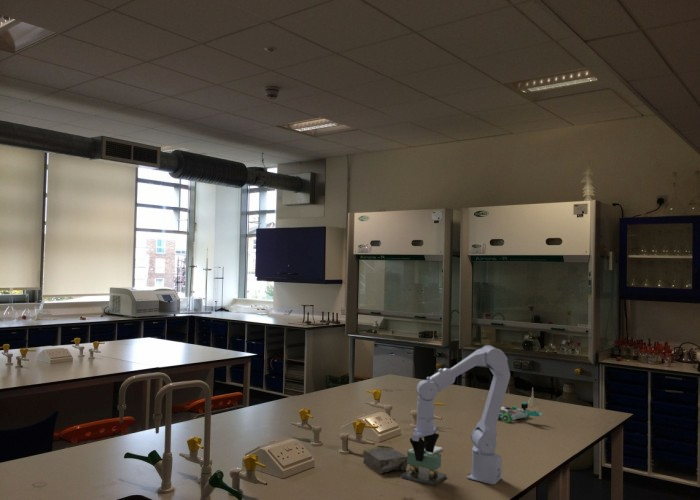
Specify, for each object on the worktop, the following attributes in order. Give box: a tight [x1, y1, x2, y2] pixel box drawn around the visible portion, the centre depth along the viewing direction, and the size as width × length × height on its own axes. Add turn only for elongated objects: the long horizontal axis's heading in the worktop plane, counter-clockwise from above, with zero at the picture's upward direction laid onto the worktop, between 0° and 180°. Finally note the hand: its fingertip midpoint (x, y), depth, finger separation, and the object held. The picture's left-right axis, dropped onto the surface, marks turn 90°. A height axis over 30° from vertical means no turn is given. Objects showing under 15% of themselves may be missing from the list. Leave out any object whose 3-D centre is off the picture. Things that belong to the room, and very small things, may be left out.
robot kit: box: [498, 402, 544, 424], centre depth 272 cm, size 19×25×9 cm
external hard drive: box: [407, 445, 444, 454], centre depth 219 cm, size 2×8×12 cm
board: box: [406, 448, 442, 471], centre depth 191 cm, size 10×5×5 cm, turn 57°
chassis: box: [400, 465, 447, 487], centre depth 191 cm, size 12×10×4 cm
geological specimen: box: [362, 445, 408, 475], centre depth 201 cm, size 11×6×15 cm
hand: (424, 458), depth 191 cm, fingers open, 7 cm apart
